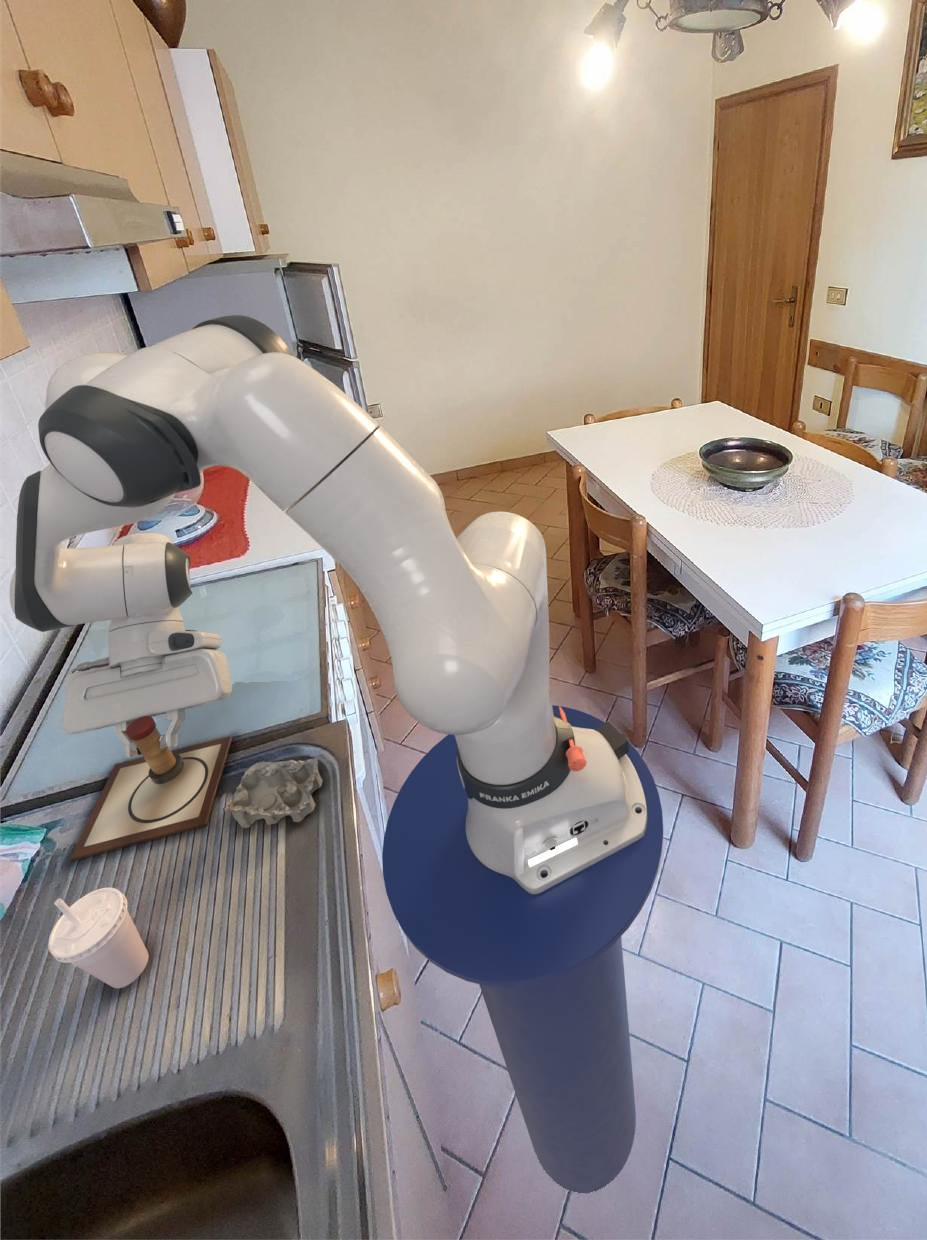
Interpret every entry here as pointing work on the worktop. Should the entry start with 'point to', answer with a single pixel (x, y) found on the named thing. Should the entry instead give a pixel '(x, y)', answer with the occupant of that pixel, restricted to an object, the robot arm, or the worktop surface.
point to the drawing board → (154, 801)
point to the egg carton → (276, 792)
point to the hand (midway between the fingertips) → (152, 752)
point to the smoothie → (99, 938)
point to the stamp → (154, 750)
